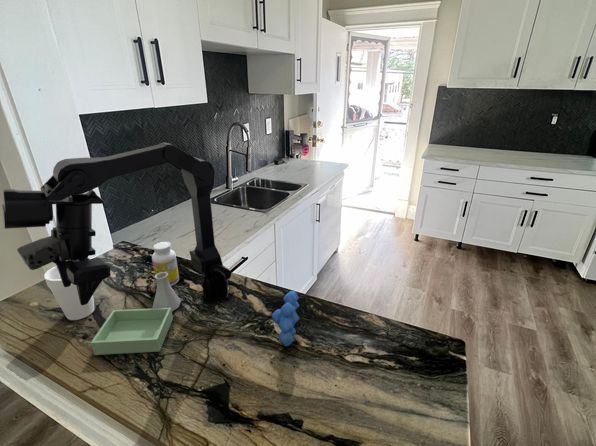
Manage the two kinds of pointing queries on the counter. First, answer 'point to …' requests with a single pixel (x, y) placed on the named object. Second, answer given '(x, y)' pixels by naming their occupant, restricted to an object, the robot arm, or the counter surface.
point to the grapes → (287, 318)
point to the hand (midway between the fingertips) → (75, 295)
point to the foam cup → (67, 296)
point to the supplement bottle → (165, 262)
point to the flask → (165, 293)
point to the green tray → (133, 331)
